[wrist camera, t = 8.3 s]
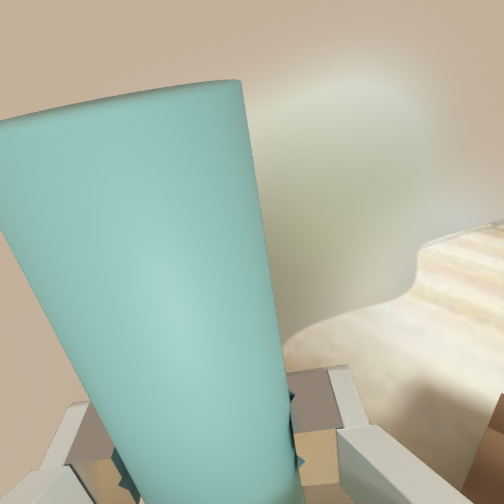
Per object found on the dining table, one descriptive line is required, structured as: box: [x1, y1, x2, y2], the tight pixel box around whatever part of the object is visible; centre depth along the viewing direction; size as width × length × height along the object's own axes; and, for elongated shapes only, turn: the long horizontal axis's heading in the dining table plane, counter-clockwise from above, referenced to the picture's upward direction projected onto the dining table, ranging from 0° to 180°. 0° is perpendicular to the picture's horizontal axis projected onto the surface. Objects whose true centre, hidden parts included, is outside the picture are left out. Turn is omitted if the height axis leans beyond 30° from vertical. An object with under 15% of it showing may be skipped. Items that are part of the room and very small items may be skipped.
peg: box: [0, 80, 306, 504], centre depth 9 cm, size 4×4×16 cm
